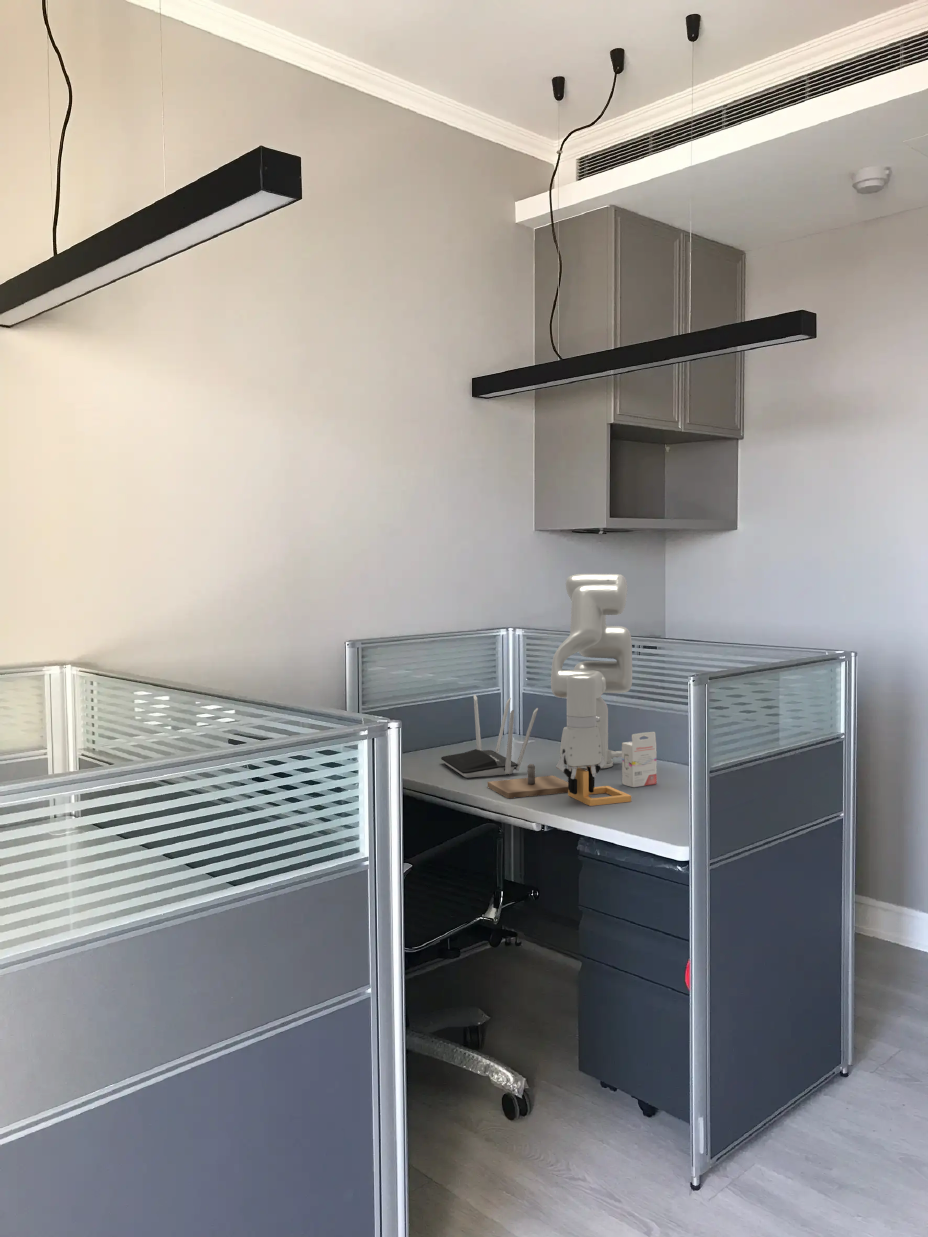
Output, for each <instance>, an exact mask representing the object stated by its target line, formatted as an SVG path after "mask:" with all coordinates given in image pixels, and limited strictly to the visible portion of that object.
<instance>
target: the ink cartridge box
mask: <svg viewBox="0 0 928 1237" xmlns="http://www.w3.org/2000/svg"><path fill="white" fill-rule="evenodd" d="M642 737H646V738H642ZM656 737H657V736H656V732H655V731H650V732H649V731H647V732H646V731H645V732H639V733H633V734H631V741H626V742H621V751H622V757H621V774H622V775H621V779H622V780H621V783H622V785H624V786H626V787H627V786H628V787H631V788H637V787H645V786H653V785H656V784H658V783H657V779H658V778H657V777H658V776H657V771H658V770H657V766H658V765H657V764H658V763H657V738H656ZM641 738H642V739H641Z"/></svg>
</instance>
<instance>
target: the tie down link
mask: <svg viewBox="0 0 928 1237" xmlns="http://www.w3.org/2000/svg"><path fill="white" fill-rule="evenodd" d="M575 779H577V794H573V793H570V792H569V790H568V793H567V796H568V797H571V798H573V799H575V800H576V801H578V802H581V803H583V804H585V805H587V806H589V807H593V806H602V805H610V804H620V803H628V802H629V803H630V802H632V795H630V794H628V793H626V792H624V791H621V790H619V789H616V788H614V787H612V786H610V785H602V786H594V792H592V793H591V792H589V771H587V769H585V768H578V767H577V770H576V775H575ZM599 794H602V795H603V794H608V796H602V797H590V796H591V795H592V796H593V795H599ZM609 795H610V796H609Z"/></svg>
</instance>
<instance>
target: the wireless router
mask: <svg viewBox="0 0 928 1237" xmlns="http://www.w3.org/2000/svg"><path fill="white" fill-rule="evenodd" d="M511 699H512V698H511V697H509V698H508V699H507V701H506V703H505V707H504V711H503V715H502V720H501V724H500V728H499V734H498V737H497V743H496V746H495V749H494V750H491V749H487V750H486V749H484V750H483V749H482V748H483V747H482V738H481V736H482V735H481V727H480V724H481V723H480V714H479V713H480V712H479V704H478V702H479V701H478V697H477V694H473V708H474V722H475V728H474V729H475V742H476V744H475V745H476V748H475V749H472V750H469V751H466V752H462V753H455V754H448V755H443V756H441V757H440V759H441V760H442V761H443V763H444V765H447V766H448V767H449V768H450V769H453V771H455V772H457V773H459V774H460V775H461V776H463V777H464V778H468V779H470V778H477V777H491V776H502V775H503V776H504V775H506V774H509V775H512V774H513V771H517V772H520V771H519V770H520V768H521V765H522V762H523V758H524V755H525V752H526V748H527V745H528V742H529V739H530V736H531V733H532V729H533V726H534V724H535V720H536V717H537V713H538V710H539V708H538V707H536V708H535V709H534V710H533V712H532V715H531V718H530V721H529V724H528V727H527V730H526V734H525V737H524V740H523V743H522V746H521V750H520V753H519V755H518V759H517V762H515V761H513V760H512V751H513V737H514V734H513V733H514V718H515V709H511V711H510V713H509V721H508V732H507V733H508V734H507V744H506V745H507V746H506V756H504V755H502V754H500V752H499V751H500V748H501V745H502V744H501V743H502V739H503V734H504V731H505V726H506V721H507V717H508V712H509V708H510V703H511Z"/></svg>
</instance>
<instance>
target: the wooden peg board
mask: <svg viewBox="0 0 928 1237" xmlns="http://www.w3.org/2000/svg"><path fill="white" fill-rule="evenodd" d="M488 787H489V788H488ZM487 788H488V789H490V790H491V791H494V792H495V791H496V792H495V793H497V794H499V795H500V796H502V795H503V797H504V798H506V799H508V798H510V799H515V798H514V797H520V798H525V797H526V796H529V797H537V796H538V795H539V796H546V795H548V796H549V795H558V794H566V793H567V794H568V790H569V789H568V781H566V780H564V779H562V778H559V777H557V776H555V775H543V776H536V765H535V764H534V763H529V764H528V765H527V777H524V778H523V777H522V778H513V779H501V780H493V781H487Z"/></svg>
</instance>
